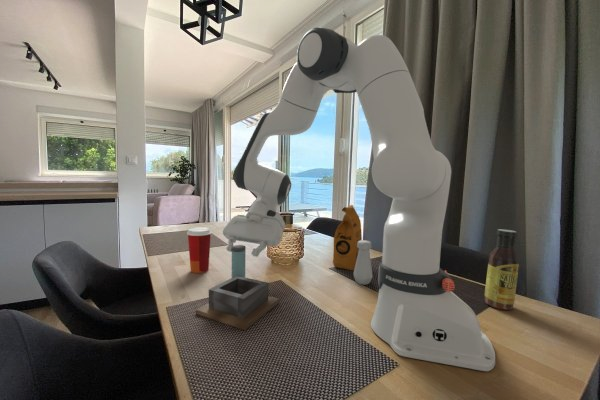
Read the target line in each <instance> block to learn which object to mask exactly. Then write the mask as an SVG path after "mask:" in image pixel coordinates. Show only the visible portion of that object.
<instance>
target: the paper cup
mask: <svg viewBox="0 0 600 400" xmlns="http://www.w3.org/2000/svg"><path fill="white" fill-rule="evenodd" d="M212 233H213V232H212V231H211V229H210V228H209V227H192V228H190V229H188V230H187V233H186V235H187V239H188V240H187V242H188V251H189V253H188V254H189V267H190V272H191V273H193V274H202V273H206V272H208V271H209V270H210V269H209V267H210V251H211V249H210V248H211V235H212Z"/></svg>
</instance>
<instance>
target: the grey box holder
mask: <svg viewBox="0 0 600 400" xmlns="http://www.w3.org/2000/svg"><path fill="white" fill-rule="evenodd" d="M279 303H280V298H278V297H274V296H269V282H267V281H262V280H258V279H253V278H249V277H246V276H245V277H241V276H235V277H233V278H232V277H231V278H229V279H227V280H225V281H223V282H221V283H218V284H217V285H215V286H213V287H211V288H209V289H208V302H206V303H205V304H203V305H202V306H200V307H198V308H196V309H195V315H198V316H201V317H204V318H208V319H210V320H214V321H215V322H220V323H222V324H224V325H228V326H231V327H235V328H237V329H239V330H243V331H246V330H248V329H249V327H251V326H253V324H255V323H256V322H257V321H258V320H259V319H261V318H262V317H264V316H265V315H266V314H267V313H268V312H269V311H271V310H272V309H273V308H274V307H276V306H277V305H278V304H279Z"/></svg>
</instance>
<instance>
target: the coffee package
mask: <svg viewBox="0 0 600 400" xmlns="http://www.w3.org/2000/svg"><path fill="white" fill-rule="evenodd" d="M341 212H343V213H345V214H344V215H343V218H342V220H341V222H340V224H339V225H338V226H337V228H336V229H335V232H334V236H333V255H332V256H333V258H332V264H333V266H334V267H335V268H339V269H342V270H343V269H345V270H347V271H354V269H355V265H356V261H357V256H358V252H359V248H357V243H358V241H360V240H363V239H362V238H363V237H362V223H361V222H362V221H361V218H360V216H359V215H358V213H357V210H356V209H355V207H354V205H353V204H350V205H349V206H347V207H346V206H343V208H342V209H341Z"/></svg>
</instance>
